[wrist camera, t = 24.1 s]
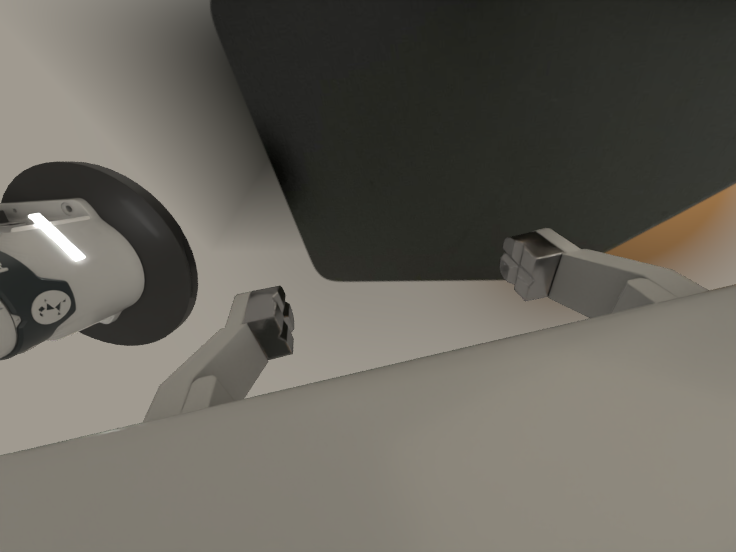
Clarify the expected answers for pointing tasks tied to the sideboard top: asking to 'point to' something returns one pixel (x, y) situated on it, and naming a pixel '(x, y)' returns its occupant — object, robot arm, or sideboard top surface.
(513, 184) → the sideboard top surface
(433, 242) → the sideboard top surface
